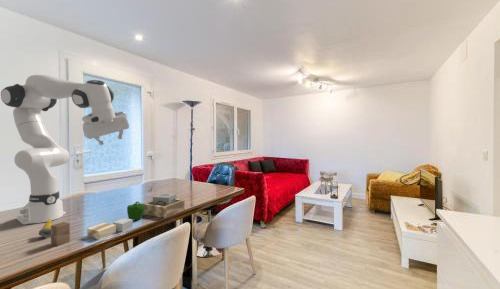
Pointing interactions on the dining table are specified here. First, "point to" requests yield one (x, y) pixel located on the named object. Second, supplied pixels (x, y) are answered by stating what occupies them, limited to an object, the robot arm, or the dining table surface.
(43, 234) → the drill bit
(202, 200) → the dining table surface
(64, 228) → the walnut block
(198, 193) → the dining table surface
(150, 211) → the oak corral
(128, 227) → the grey painted block
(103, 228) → the maple block
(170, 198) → the icon cube
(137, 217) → the bell pepper
